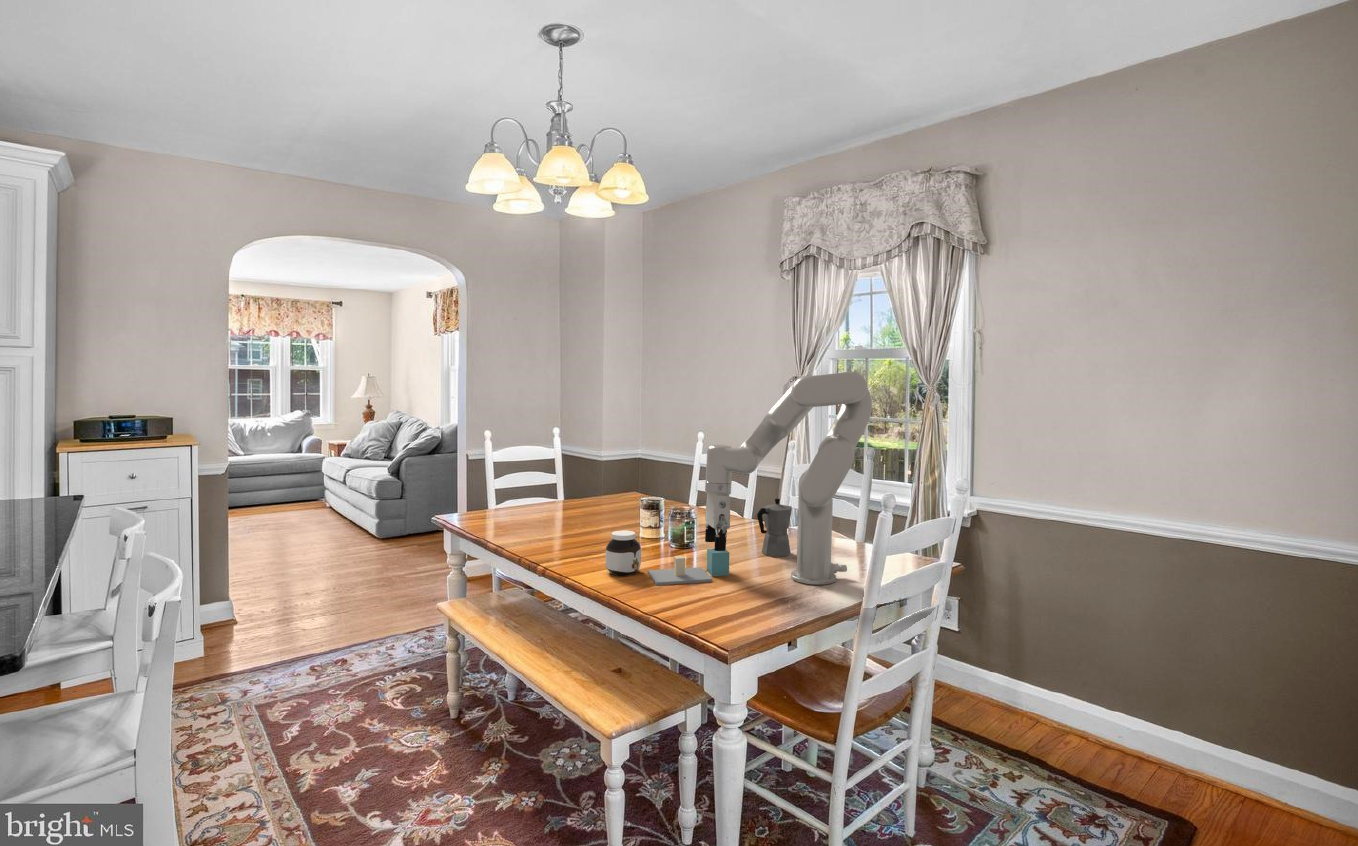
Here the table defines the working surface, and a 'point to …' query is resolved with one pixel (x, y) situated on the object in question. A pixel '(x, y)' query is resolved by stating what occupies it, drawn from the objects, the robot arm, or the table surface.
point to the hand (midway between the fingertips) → (715, 546)
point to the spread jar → (623, 554)
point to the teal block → (717, 562)
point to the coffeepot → (775, 529)
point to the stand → (679, 574)
